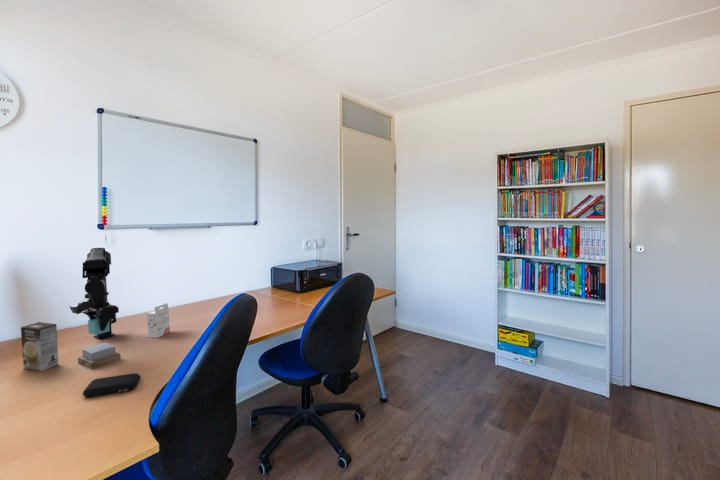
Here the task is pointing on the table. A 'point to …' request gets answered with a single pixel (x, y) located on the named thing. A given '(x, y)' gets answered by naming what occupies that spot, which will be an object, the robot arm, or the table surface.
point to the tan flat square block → (98, 361)
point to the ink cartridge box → (158, 321)
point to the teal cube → (96, 327)
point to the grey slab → (98, 351)
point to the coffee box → (39, 346)
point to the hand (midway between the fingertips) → (99, 329)
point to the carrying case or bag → (112, 385)
